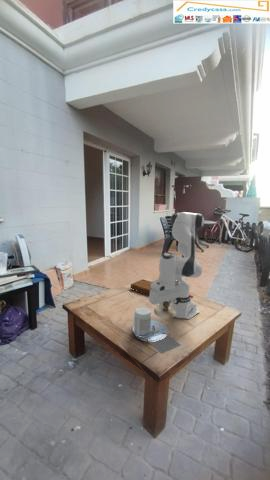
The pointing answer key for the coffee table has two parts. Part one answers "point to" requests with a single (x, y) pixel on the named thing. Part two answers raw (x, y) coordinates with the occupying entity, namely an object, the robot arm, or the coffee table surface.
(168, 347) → the mat
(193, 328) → the coffee table surface
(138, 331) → the supplement tub
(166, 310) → the lid
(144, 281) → the diary
